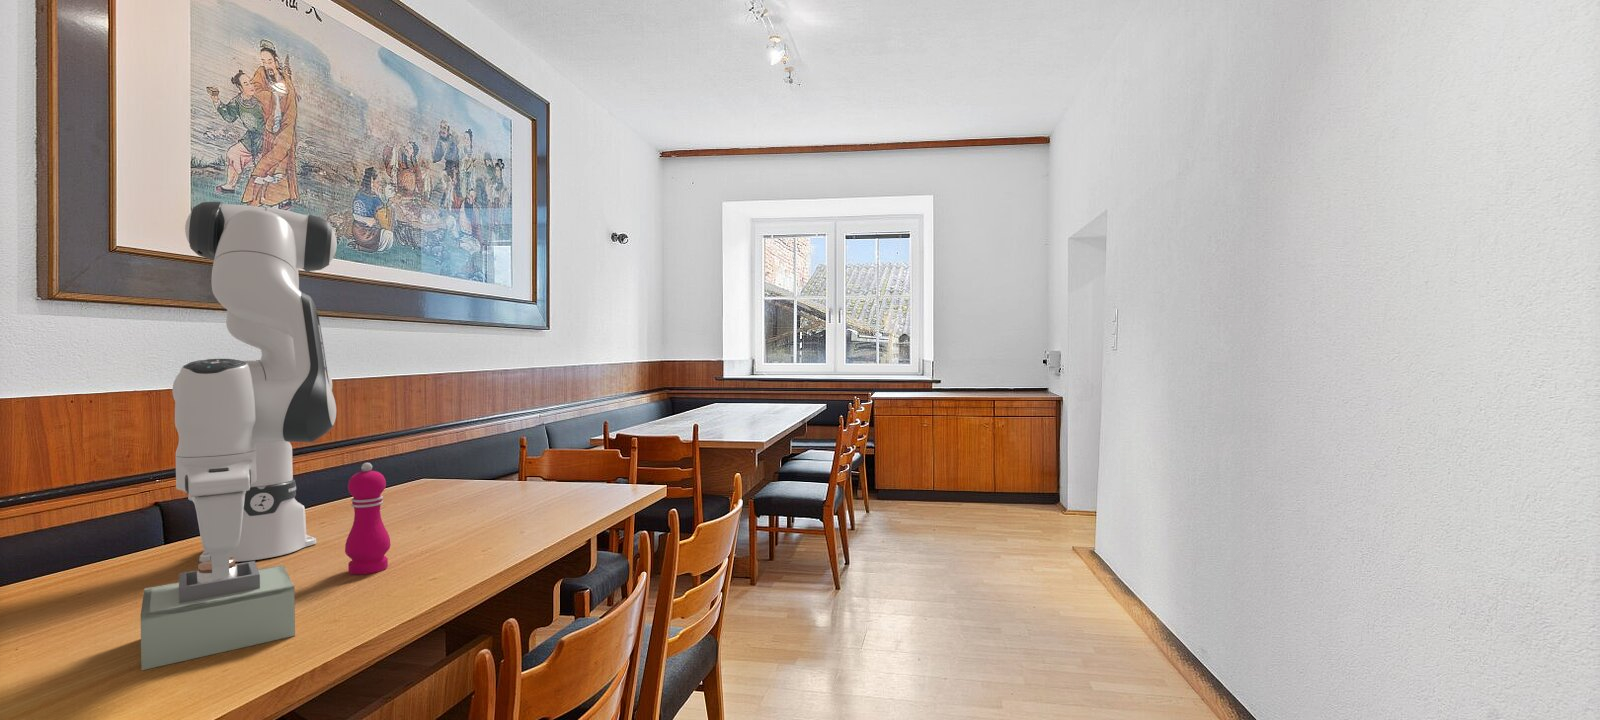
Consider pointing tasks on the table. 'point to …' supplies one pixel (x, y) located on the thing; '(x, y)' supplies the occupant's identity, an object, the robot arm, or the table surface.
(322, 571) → the table surface
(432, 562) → the table surface
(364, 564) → the pepper mill
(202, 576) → the canister
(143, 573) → the table surface
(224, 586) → the green square holder
